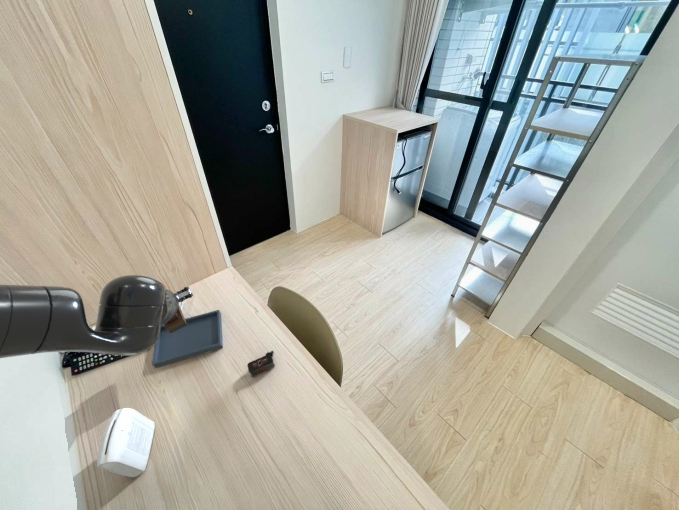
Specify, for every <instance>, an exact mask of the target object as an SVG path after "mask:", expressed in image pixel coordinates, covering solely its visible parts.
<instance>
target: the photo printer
mask: <svg viewBox="0 0 679 510" xmlns="http://www.w3.org/2000/svg"><path fill="white" fill-rule="evenodd" d="M155 426H156V423H155V421H153V420H151V419H150V418H148V417H147V416H145V415H143V414H142V413H140V412H139V411H137V410H136V409H134V408H132V407H131V408H129V407H123V408H120V409H116V410H115V411H114V412H113V413H112V415H111V416H110V419H109V420H108V422H107V424H106V427H105V429H104V432H103V434H102V437H101V441H100V444H99V448H98V453H97V459H96V467H97V468H98V469H100V470H102V471H106V472H110V473H112V474H115V475H119V476H122V477H128V478H137V477H138V476H140V475H141V474H143V472H145V471H146V467H147V465H148V462H149V461H148V460H149V457H150V452H151V449H152V443H153V439H154V434H155Z"/></svg>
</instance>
